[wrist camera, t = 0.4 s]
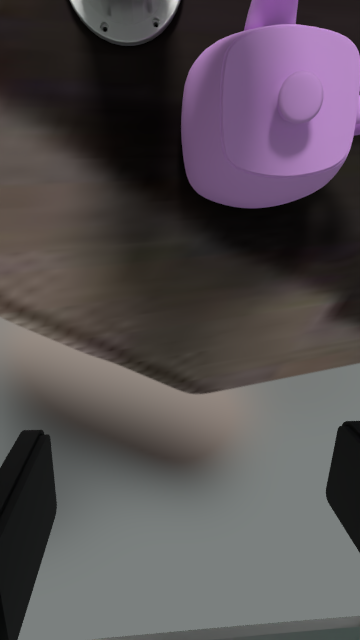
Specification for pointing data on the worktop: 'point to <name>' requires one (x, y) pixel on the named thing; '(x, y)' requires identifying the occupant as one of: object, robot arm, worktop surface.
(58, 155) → the worktop surface
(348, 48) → the teapot
